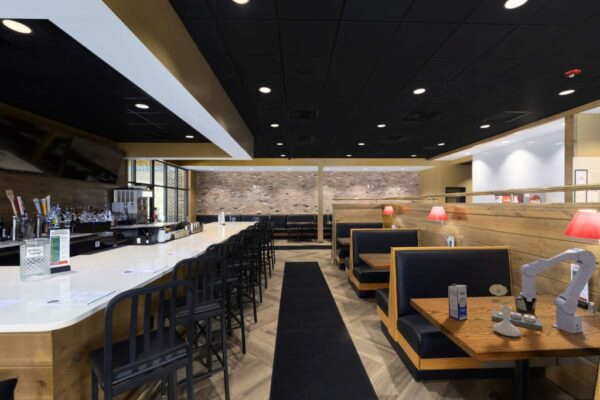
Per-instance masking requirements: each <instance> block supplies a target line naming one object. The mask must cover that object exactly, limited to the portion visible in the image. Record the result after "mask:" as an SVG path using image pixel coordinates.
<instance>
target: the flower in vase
mask: <svg viewBox="0 0 600 400" xmlns="http://www.w3.org/2000/svg"><path fill="white" fill-rule="evenodd" d="M489 292H490V293H491V294H492V295H495V296H498V299H497V298H492V299H491V300H490V302H493V303H496V304H498V303H501V304H502V305H500V306H499V307H500V308H501V310H502V312H503V314H504V319H503V321H502V322H500V321H499V322H497V323H496V324H494V325H493V330H494V331H495V332H496V333H498V334H501V335H503V336H507V337H519V336H520V335H521V331H520V329H518V327H516V325H514V324H511V323H510V321H509V313H511V310H513V307H512V306H510V305H509V304H511V303H512V301H513V300H508V301H507V300H506V301H504V303H503V302H502V300H501V296H505V295H506V294H507V293H508V289H507V287H506V286H503V285H502V284H496V283H495V284H492V285H491V286H490V288H489Z"/></svg>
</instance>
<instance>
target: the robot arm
mask: <svg viewBox="0 0 600 400" xmlns="http://www.w3.org/2000/svg"><path fill="white" fill-rule="evenodd" d="M596 260H597V256H595V254H594V253H593V252H592V251H591V250H588V249H587V250H586V249H583V248H579V247H573V248H571V249H567V250H565V251H563V252H561V253H559V254H556V255H554V256H551V257H550V258H547V259H546V258H540V257H539V258H537V260H535V261H533V262H528V264H527V263H525V264H522V265H521V266H520V268H519V271H520V272H521V288H522V289H521V292H519V295H523V300H524V302H525V305H526V309H527V311H531V312H532V309H533V305H534V303H535V301H536V299H537V298H536V297H537V294H536V276H537V274H539V273H541V272H543V271H547V270H549V269H551V268H552V266H553V265H556V264H560V263H563V262H565V261H575V262H576V263H577V265H578V267H579V268H578V270H577V272H576V273H575V274H574V276H573V278H572V279H571V281H570V282H569V284H568V285H567V287H566V289H565V290H564V292H562V293H559V295H558V296H556V297H554V298H553V305H554V306H555V323H556V324H551V326H552V327H554V328H557V329H559V330H561V331H564V332H567V333H569V334H577V333H578V334H579V333H583V332H584V331H583V322H582V318H581V317H580V316H579V315H576V314H575V313H576V312H577V311H578V304H579V301H578V300H579V299H578V298H579V296H580V295H581V293H582V292H583V290H584V289H585V287H586V285H588V282H589V281H590V279H591V277H592V276H593V274H594V273H595V271H596V270H597V269H596ZM535 298H536V299H535ZM536 302H537V301H536Z"/></svg>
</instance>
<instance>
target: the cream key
mask: <svg viewBox="0 0 600 400" xmlns="http://www.w3.org/2000/svg"><path fill="white" fill-rule="evenodd" d="M523 316H524V318H525V321H529V322H534V323H535V318H536V316H535V315H533V314H523Z"/></svg>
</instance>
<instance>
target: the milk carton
mask: <svg viewBox="0 0 600 400" xmlns="http://www.w3.org/2000/svg"><path fill="white" fill-rule="evenodd" d="M447 290H448V293H447V295H448V317H449V318H451V319H454V320H456V321H458V322H459V321H463V320H468V306H467V305H468V303H467V302H468V301H467V284H457V283H451V285H449V286H447Z"/></svg>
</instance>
